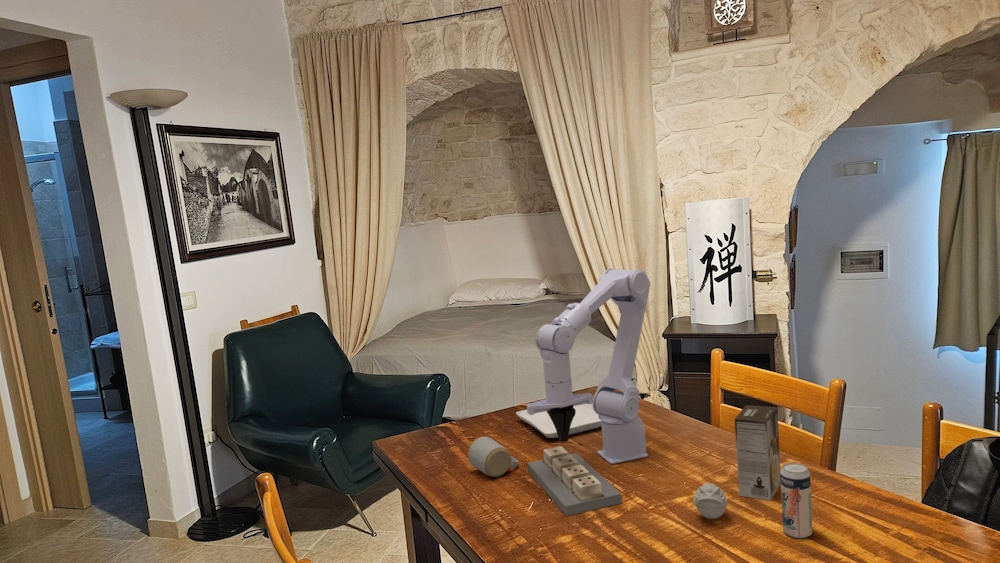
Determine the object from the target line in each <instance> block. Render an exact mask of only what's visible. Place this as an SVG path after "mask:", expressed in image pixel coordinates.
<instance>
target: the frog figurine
mask: <svg viewBox="0 0 1000 563" xmlns="http://www.w3.org/2000/svg"><path fill="white" fill-rule="evenodd" d="M728 501H729V500H728V499H727V497H726V494H725V492H724V490H723V489H722V488H721V487H719V486H717V485H716V484H714V483H708V482H706V483H704V484H703V485H702V486H699V488H697V489H696V492H695V494H694V497H693V504H694V505H695V506H696V509H697V511H698V512H699V514H701V516H702V517H704V518H706V519H708V520H716V519H719V518H720V517H722V516H723V514H724V512H725V511H726V508H727V506H728V505H729V504H728V503H729V502H728Z"/></svg>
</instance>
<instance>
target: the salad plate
mask: <svg viewBox="0 0 1000 563" xmlns="http://www.w3.org/2000/svg"><path fill="white" fill-rule="evenodd" d="M573 408H574V409H575V410H576V413H575V416H574V418H573V420H572V423H571V426H570V430H569V435H568V436H570V435H575V434H579V433H583V431H584V432H588V431H590V430H592V431H593V430H596V429H599V428H602V424H601V419H599V415H598V414H597V413H596V412H595V411H594V409H593V404H588V403H587V404H582V405H576V406H573ZM515 414H516V416H517V417H518V418H520V419H521V420H522V421H524V422H525V423H527V424H529V425H530V426H532V427H533V428H535V429H536V430H538V432H540V433H541V434H542V435H543V436H545V437H546V438H549V439H555V438H557V439H559V438H558V434H557V431H556V428H555V426H554V424H553V422H552V420H551V418H550V416H549V415H548V413H547V411H544V412H539V413H535V414H534V415H530V414H528V413H527V409H524V410H519V411H516V412H515Z"/></svg>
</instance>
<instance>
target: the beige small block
mask: <svg viewBox="0 0 1000 563" xmlns="http://www.w3.org/2000/svg"><path fill="white" fill-rule="evenodd" d="M562 476H563V483H564V484H565V486H566V487H567V488H568V489H569V490H572V489H573V480H572V479H576V478H581V477H585V476H590V475H589V471H587V470H586V469H585V468H584V467H583V466H582V465H577V466H572V467H567V468H563V469H562Z"/></svg>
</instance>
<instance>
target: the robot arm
mask: <svg viewBox="0 0 1000 563" xmlns="http://www.w3.org/2000/svg"><path fill="white" fill-rule="evenodd" d="M598 280H599V281H598V283H596V285H595V286H594V287H593V288H592V290H590V291H589V292H588V293H587V295H585V297H584V298H583V299H582V300H581V301H580V303H579V302H573V303H568V304H567V305H566V306H565V307H566V308H565V310H564V311H562V312H561V313H560V315H558V316H557V317H555V318H554V319H553V320H552V322H551V323H547V324H544V325H542V326H541V327H540V328H538V330H537V333H536V336H535V337H536V338H535V339H534V343H535V345H536V347H537V348H538V350H539V352H540V357H541V358H542V365H543V376H544V377H543V378H544V385H545V386H544V387H545V388H544V389H545V398H543V399H541V400H537V401H534V402H531V403H526V410H527V413H528V414H530V415H534V414H535V413H539V412H544V411H547V413H548V415H549V416H550V418H551V420H552V422H553V424H554V426H555V428H556V431H557V434H558V438H557V439H558V441H560V442H561V443H566V442H568V441H569V436H570V435H569V430H570V426H571V423H572V420H573V418H574V416H575V413H576V410H575V409H574V408H573V406H576V405H582V404H587V403H588V404H593V409H594V411H595V412H596V413H597V414H598V415H599V419H601V424H602V427H601V434H602V446H603V447H602V448H603V449H600V450H597V452H596V453H597V454H598V455H599V456H601V457H602V458H603V459H604V460H605V461H607V462H608V463H609V464H610V465H614V464H619V463H623V462H630V461H633V460H637V459H642V458H643V459H644V458H647V457H648V456H649V454H648V453H647V445H646V431H645V424H644V423H643V420H642V418H641V417H640V416H639V415H638V413H639V410H640V402H639V396H640V390H639V388H638V387H637V386H636V385H635V384H634V383H633V381H632V380H633V374H634V370H635V366H636V359H637V354H638V349H639V343H640V340H641V335H642V329H643V325H644V319H645V314H646V309H647V307H646V306H647V303H648V297H649V292H650V288H651V281H650V279H649V277H648V276H647V273H646V272H645V271H644V270H642V269H639V268H638V269H618V268H617V269H616V268H608V269H606V270H605V271H604V272H603V273H602V274H601V275H599V279H598ZM610 299H611V301H612V302H613V303H614V304H615V305H617V306H618V308H619V309H620V317H619V322H618V327H617V332H616V338H615V342H614V347H613V351H612V357H611V360H610V365H609V366H610V367H609V372H608V376H606V377H605V378H603V379H602V380H600V381H599V383H598V387H597V390H596V391H595V394H594V395H593V394H591V393H590V392H585V393H575V394H574V393H573V384H572V373H571V359H570V358H571V357H570V351H571V350H572V349H573V347H574V345H575V344H574V343H575V340H576V338H577V336H578V335H579V334H580V333H581V332H582V331H583V330H584V329H585V328H586V327H587V326H589V324H590V323H591V322H592V314H593V313H595V312H596V311H597V310H598V309H599V308H600V307H602V306H604V305H605V304H606V303H607V302H608V301H609V300H610ZM616 390H619V391H616ZM620 391H622V392H620Z"/></svg>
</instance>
